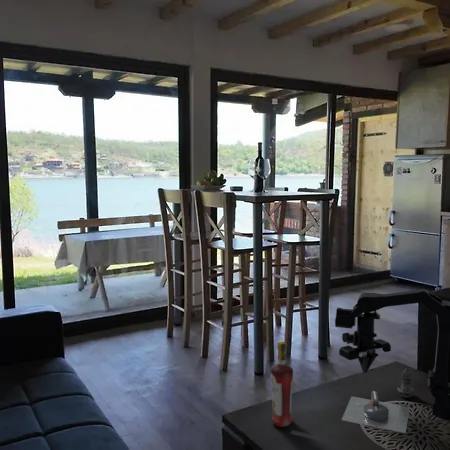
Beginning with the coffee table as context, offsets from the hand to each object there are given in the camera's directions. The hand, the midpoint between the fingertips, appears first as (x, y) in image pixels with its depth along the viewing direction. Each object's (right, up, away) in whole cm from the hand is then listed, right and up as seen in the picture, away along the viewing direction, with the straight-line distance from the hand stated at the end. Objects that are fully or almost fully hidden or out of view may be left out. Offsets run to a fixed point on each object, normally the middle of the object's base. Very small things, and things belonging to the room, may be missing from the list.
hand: (364, 372), depth 169 cm
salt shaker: (+17, -12, +6) cm, 21 cm away
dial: (+2, -12, -4) cm, 13 cm away
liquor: (-30, -14, -9) cm, 35 cm away
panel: (+2, -13, -6) cm, 15 cm away
